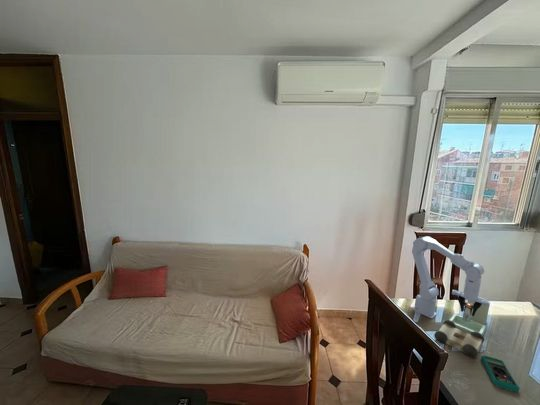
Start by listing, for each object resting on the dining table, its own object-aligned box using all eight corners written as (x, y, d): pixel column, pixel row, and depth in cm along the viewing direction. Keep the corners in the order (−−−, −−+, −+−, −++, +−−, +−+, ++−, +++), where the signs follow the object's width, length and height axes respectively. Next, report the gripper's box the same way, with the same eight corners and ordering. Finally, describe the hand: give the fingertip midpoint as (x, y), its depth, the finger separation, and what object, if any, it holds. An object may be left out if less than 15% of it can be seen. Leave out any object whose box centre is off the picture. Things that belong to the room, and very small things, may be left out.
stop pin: (459, 319, 121) (463, 303, 120) (462, 317, 124) (465, 301, 123) (469, 324, 118) (473, 307, 117) (472, 321, 120) (475, 305, 119)
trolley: (433, 339, 116) (435, 329, 115) (443, 326, 126) (444, 318, 125) (476, 360, 104) (477, 349, 103) (483, 344, 113) (485, 335, 113)
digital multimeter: (494, 387, 92) (495, 380, 91) (480, 359, 105) (481, 353, 105) (519, 395, 89) (521, 388, 88) (501, 365, 102) (503, 359, 102)
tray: (447, 327, 125) (448, 321, 125) (453, 319, 132) (454, 313, 131) (479, 341, 115) (481, 335, 115) (484, 332, 122) (485, 326, 122)
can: (491, 324, 128) (495, 304, 126) (474, 324, 128) (477, 303, 126) (477, 314, 137) (480, 294, 135) (460, 313, 137) (463, 294, 136)
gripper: (451, 284, 122) (447, 308, 124) (489, 297, 110) (484, 323, 112) (455, 280, 126) (452, 304, 128) (492, 292, 115) (488, 318, 117)
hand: (467, 313), depth 121 cm, fingers closed on stop pin, 4 cm apart
